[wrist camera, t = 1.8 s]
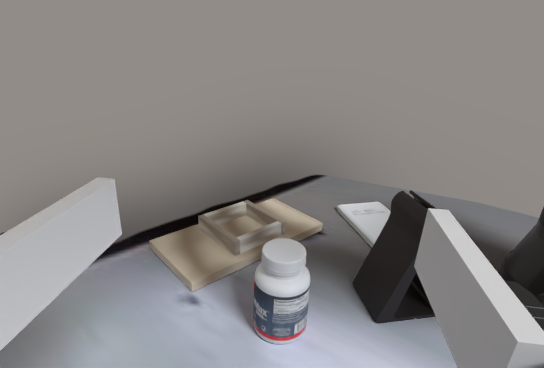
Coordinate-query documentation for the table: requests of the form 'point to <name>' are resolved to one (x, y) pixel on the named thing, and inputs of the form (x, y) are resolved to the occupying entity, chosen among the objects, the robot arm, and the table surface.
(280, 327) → the pill bottle
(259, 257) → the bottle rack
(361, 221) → the external hard drive
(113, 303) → the table surface
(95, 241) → the robot arm
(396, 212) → the phone stand
